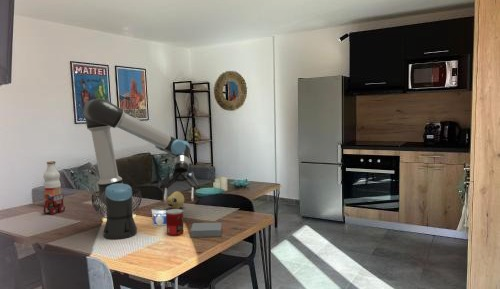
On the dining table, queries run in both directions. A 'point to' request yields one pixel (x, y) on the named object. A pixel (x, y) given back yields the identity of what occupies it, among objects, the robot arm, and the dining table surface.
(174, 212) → the canned food
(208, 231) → the grey flat block
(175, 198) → the tan rounded lump
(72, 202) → the dining table surface
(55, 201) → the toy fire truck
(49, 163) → the fruit juice
